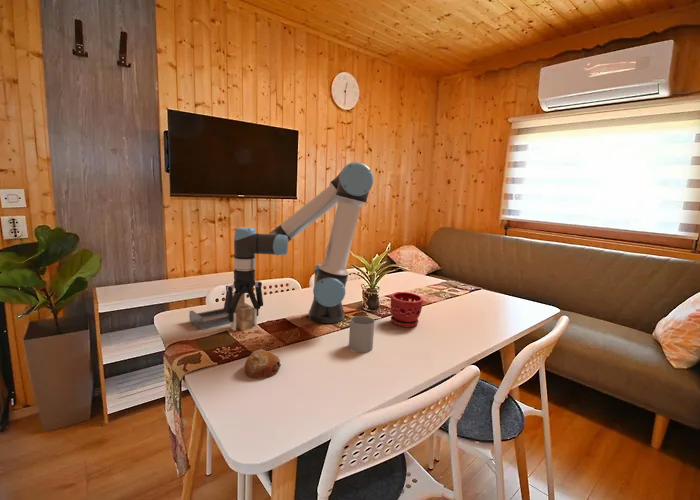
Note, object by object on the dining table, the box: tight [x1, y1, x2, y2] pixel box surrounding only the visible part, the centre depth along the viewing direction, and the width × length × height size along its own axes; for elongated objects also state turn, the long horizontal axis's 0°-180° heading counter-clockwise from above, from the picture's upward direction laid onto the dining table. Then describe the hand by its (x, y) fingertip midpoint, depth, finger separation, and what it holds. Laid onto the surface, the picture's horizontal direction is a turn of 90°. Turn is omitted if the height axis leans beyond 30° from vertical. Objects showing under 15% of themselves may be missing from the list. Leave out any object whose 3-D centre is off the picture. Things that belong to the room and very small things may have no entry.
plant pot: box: [390, 291, 424, 328], centre depth 152 cm, size 13×13×12 cm
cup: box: [348, 315, 376, 354], centre depth 126 cm, size 8×8×10 cm
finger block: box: [236, 305, 253, 332], centre depth 138 cm, size 4×6×8 cm
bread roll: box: [243, 349, 282, 379], centre depth 107 cm, size 10×10×8 cm
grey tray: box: [188, 291, 254, 331], centre depth 144 cm, size 10×22×10 cm, turn 134°
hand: (243, 326), depth 139 cm, fingers open, 8 cm apart
